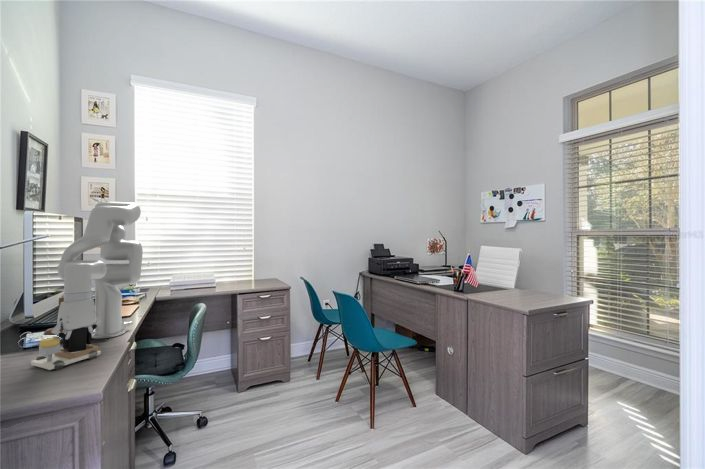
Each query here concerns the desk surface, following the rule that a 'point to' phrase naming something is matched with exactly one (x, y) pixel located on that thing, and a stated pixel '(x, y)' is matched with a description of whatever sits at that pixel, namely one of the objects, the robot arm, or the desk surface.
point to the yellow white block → (49, 346)
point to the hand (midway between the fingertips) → (77, 346)
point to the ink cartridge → (78, 339)
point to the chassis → (65, 357)
